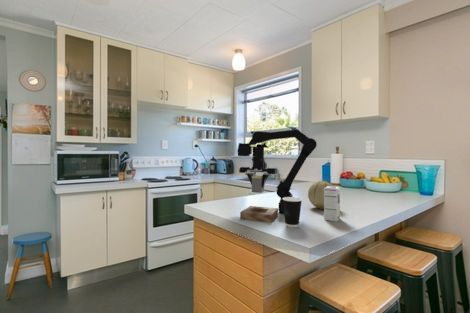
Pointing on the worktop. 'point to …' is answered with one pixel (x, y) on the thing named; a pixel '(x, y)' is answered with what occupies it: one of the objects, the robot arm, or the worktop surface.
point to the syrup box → (332, 203)
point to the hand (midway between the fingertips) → (258, 187)
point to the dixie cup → (292, 211)
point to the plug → (257, 184)
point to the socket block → (259, 213)
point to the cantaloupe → (318, 193)
